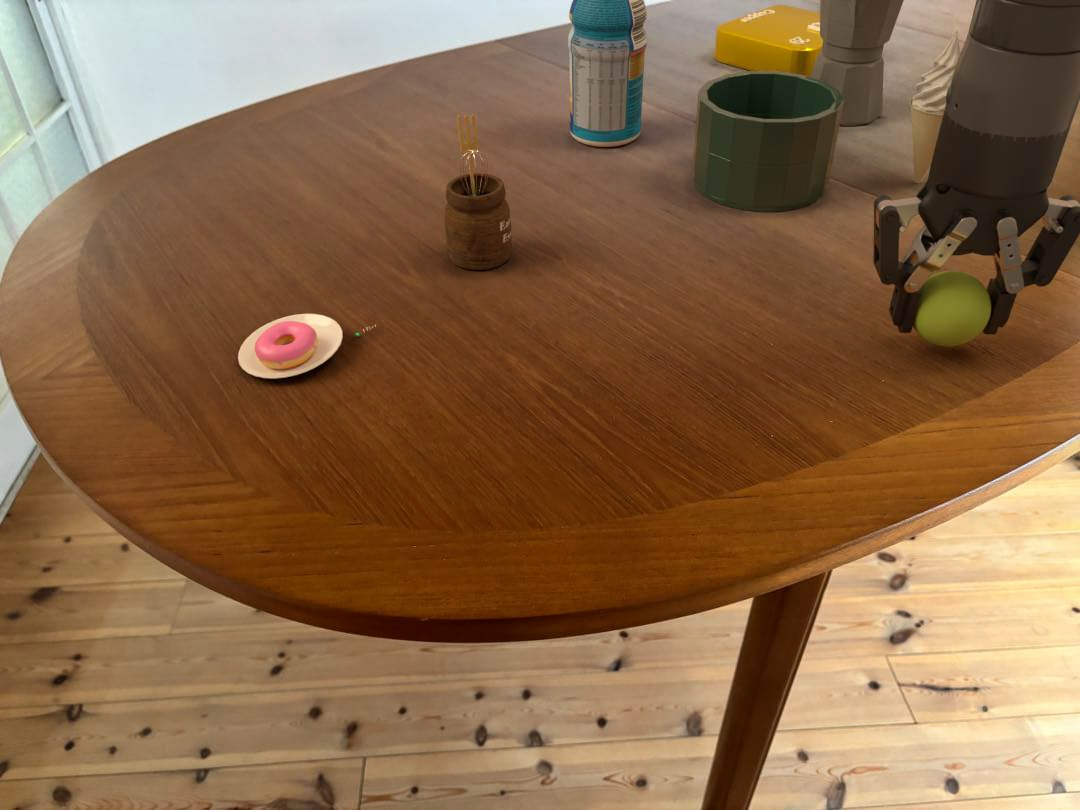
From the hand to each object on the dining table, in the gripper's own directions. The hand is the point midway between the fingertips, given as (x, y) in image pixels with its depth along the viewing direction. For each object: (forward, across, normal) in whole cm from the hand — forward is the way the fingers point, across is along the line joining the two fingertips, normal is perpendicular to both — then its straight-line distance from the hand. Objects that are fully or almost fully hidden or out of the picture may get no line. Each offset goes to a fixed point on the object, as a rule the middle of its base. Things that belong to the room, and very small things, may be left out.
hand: (944, 327), depth 69 cm
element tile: (+3, -2, +68) cm, 68 cm away
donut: (+2, -49, -1) cm, 49 cm away
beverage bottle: (+2, -26, +42) cm, 49 cm away
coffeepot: (+3, +2, +50) cm, 50 cm away
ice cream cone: (+3, +6, +30) cm, 31 cm away
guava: (+1, 0, 0) cm, 1 cm away
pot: (+2, -10, +30) cm, 32 cm away
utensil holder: (+2, -37, +14) cm, 40 cm away
